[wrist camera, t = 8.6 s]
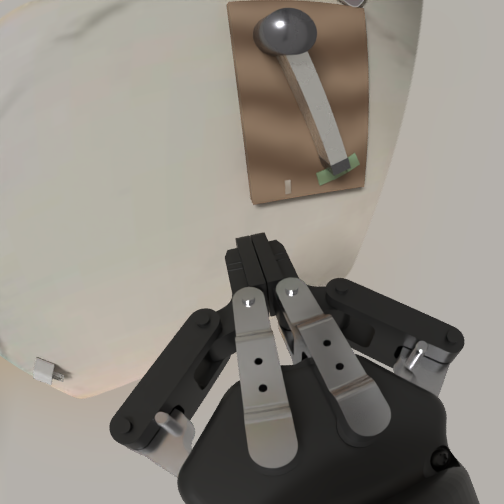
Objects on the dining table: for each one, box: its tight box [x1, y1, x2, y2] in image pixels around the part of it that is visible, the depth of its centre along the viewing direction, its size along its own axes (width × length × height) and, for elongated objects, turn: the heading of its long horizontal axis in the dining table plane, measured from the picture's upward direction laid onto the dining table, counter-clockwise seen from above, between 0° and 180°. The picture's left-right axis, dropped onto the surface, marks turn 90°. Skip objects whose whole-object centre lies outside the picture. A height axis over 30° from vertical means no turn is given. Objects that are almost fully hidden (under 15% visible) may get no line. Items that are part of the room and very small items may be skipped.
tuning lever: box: [253, 8, 351, 176], centre depth 23 cm, size 17×4×4 cm, turn 26°
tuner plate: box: [227, 0, 369, 205], centre depth 25 cm, size 22×14×2 cm, turn 6°
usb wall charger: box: [33, 357, 64, 385], centre depth 43 cm, size 4×7×4 cm, turn 54°
